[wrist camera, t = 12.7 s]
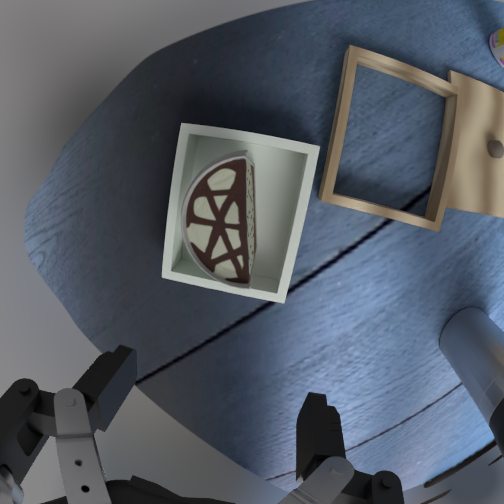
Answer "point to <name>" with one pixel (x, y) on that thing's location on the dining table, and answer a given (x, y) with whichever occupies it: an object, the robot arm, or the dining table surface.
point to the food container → (223, 219)
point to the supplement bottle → (498, 46)
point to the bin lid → (479, 149)
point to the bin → (267, 204)
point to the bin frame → (446, 147)
